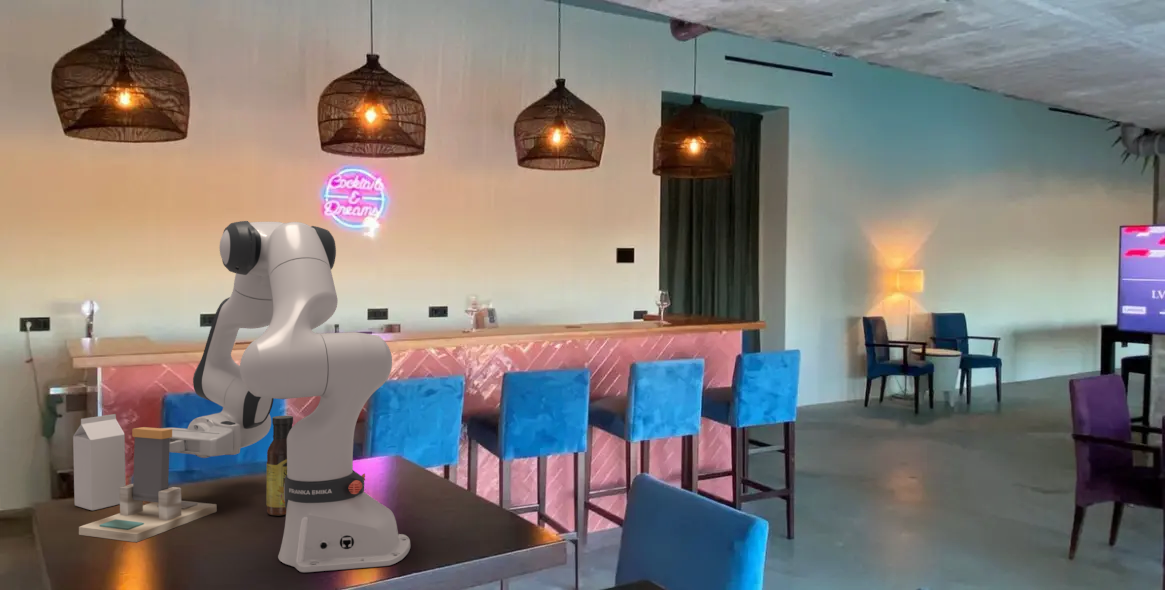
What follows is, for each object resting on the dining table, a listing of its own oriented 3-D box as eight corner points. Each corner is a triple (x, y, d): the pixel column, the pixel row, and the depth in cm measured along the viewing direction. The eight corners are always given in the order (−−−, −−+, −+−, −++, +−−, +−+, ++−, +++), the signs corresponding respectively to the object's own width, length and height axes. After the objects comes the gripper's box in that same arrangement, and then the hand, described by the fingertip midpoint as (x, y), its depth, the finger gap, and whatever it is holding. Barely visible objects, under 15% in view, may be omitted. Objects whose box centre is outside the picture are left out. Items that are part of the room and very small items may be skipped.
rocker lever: (141, 497, 164) (143, 427, 164) (170, 500, 162) (172, 429, 162) (130, 499, 162) (132, 428, 162) (159, 503, 159) (161, 430, 160)
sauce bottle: (287, 517, 165) (286, 420, 164) (260, 516, 166) (258, 419, 165) (305, 508, 171) (304, 414, 171) (278, 506, 172) (277, 413, 172)
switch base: (163, 505, 174) (162, 472, 173) (216, 511, 169) (216, 478, 169) (79, 534, 155) (78, 498, 154) (136, 542, 150) (135, 504, 150)
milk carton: (126, 503, 175) (124, 415, 175) (91, 511, 169) (89, 420, 169) (108, 498, 179) (106, 412, 179) (74, 506, 173) (72, 417, 173)
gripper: (170, 418, 179) (115, 430, 166) (245, 424, 173) (195, 436, 160) (170, 447, 179) (116, 460, 166) (246, 454, 173) (195, 468, 160)
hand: (155, 449), depth 163 cm, fingers closed, pressing on rocker lever
